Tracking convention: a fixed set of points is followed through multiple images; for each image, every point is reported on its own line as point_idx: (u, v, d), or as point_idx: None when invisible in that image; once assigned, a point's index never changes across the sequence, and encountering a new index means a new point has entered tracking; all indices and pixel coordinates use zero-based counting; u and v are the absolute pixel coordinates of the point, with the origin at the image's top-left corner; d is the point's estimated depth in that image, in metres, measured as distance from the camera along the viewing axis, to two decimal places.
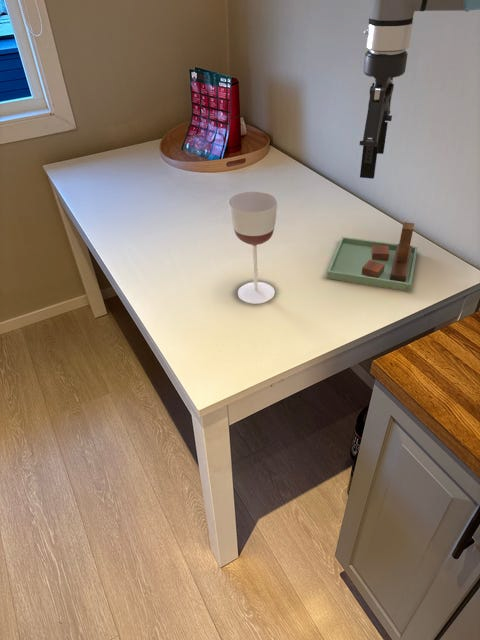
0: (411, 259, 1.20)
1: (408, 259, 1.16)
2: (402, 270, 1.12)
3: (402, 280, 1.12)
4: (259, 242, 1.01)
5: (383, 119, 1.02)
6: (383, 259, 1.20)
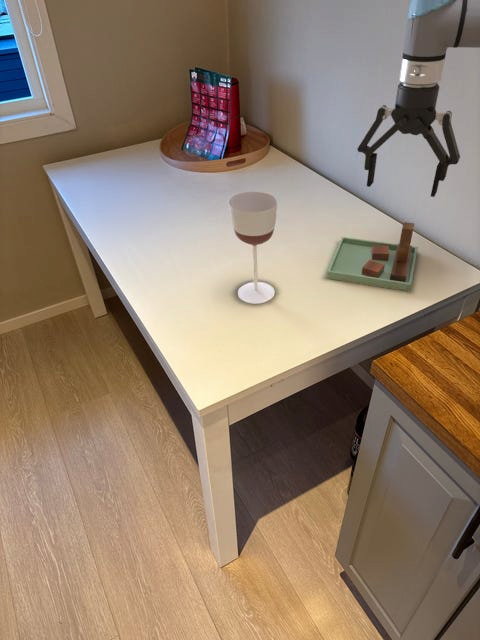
0: (411, 259, 1.20)
1: (408, 259, 1.16)
2: (402, 270, 1.12)
3: (402, 280, 1.12)
4: (259, 242, 1.01)
5: None
6: (383, 259, 1.20)
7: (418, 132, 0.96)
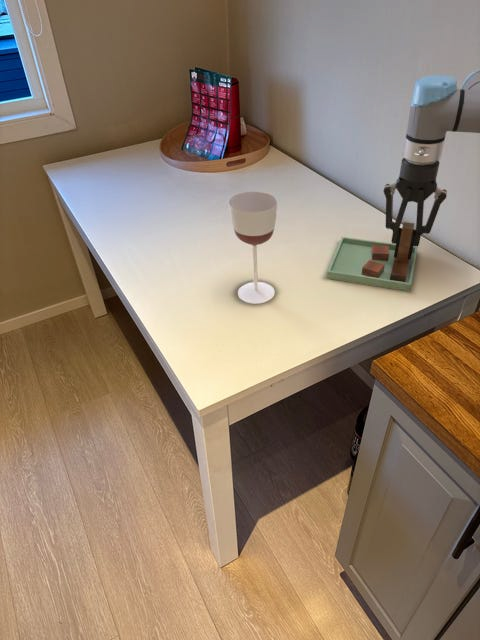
0: (411, 259, 1.20)
1: None
2: (402, 270, 1.12)
3: (402, 280, 1.12)
4: (259, 242, 1.01)
5: None
6: (383, 259, 1.20)
7: None
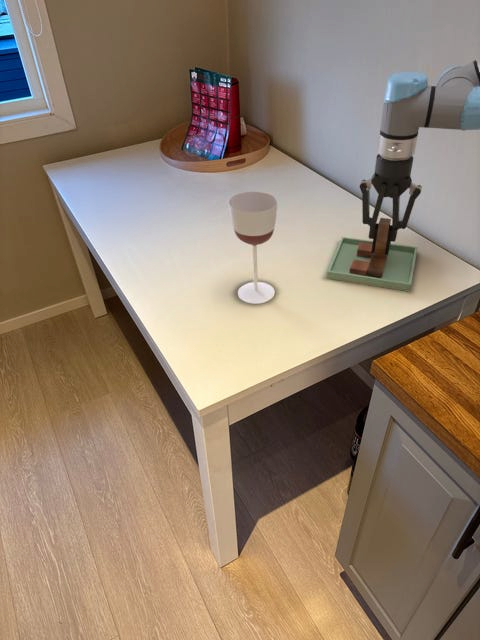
0: (411, 259, 1.20)
1: None
2: (379, 265, 1.14)
3: (379, 275, 1.13)
4: (259, 242, 1.01)
5: None
6: (368, 256, 1.22)
7: None
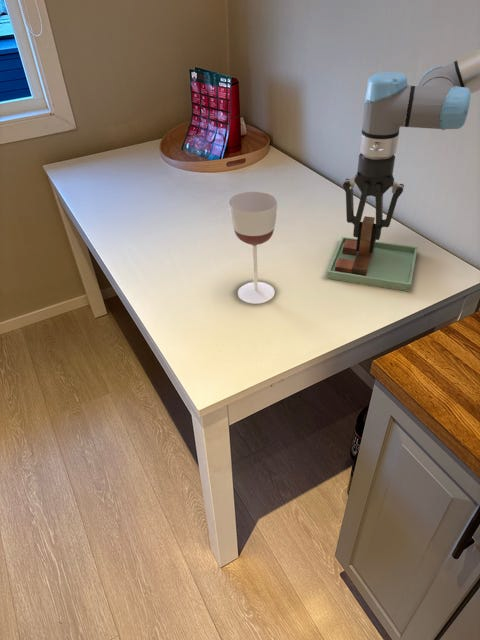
0: (411, 259, 1.20)
1: (370, 253, 1.18)
2: (363, 263, 1.15)
3: (363, 273, 1.14)
4: (259, 242, 1.01)
5: (360, 220, 1.14)
6: (353, 254, 1.23)
7: None
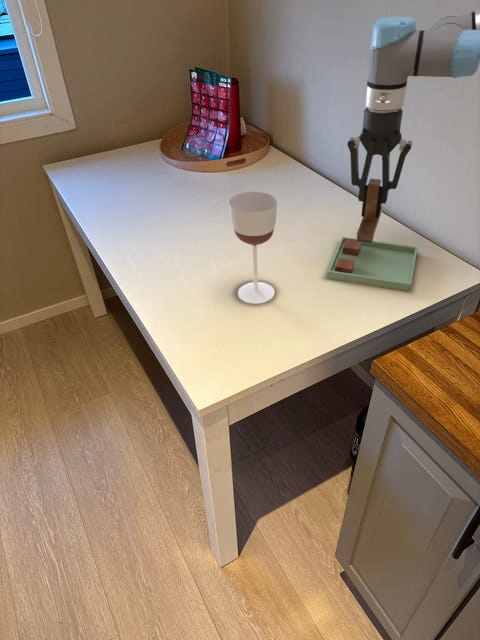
0: (411, 259, 1.20)
1: (376, 218, 1.12)
2: (369, 229, 1.09)
3: (369, 238, 1.08)
4: (259, 242, 1.01)
5: None
6: (353, 254, 1.23)
7: None
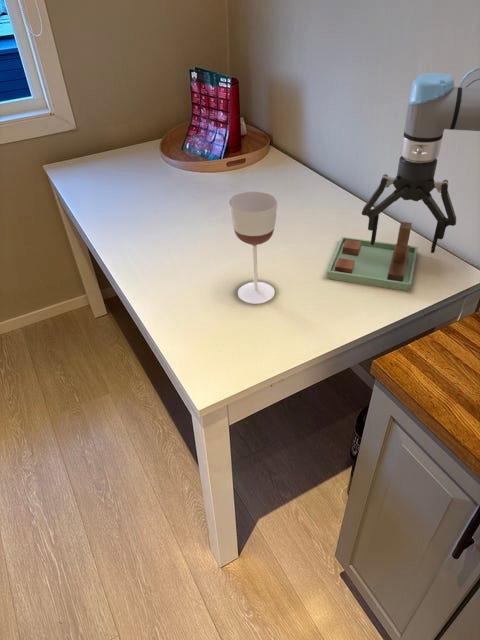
0: (411, 259, 1.20)
1: (406, 259, 1.16)
2: (399, 270, 1.13)
3: (399, 280, 1.12)
4: (259, 242, 1.01)
5: None
6: (353, 254, 1.23)
7: (419, 199, 1.05)
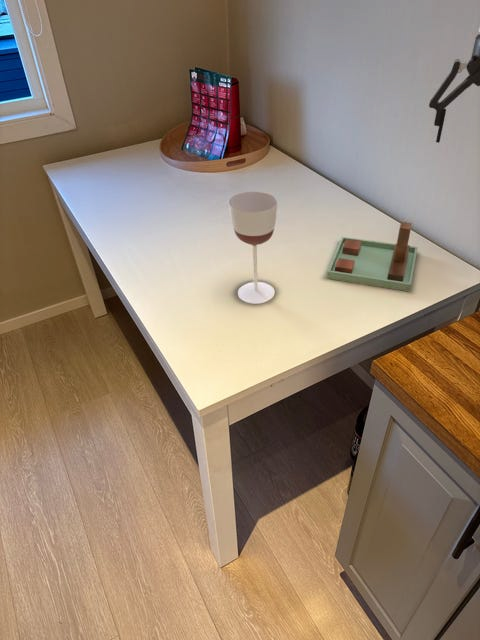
0: (411, 259, 1.20)
1: (406, 259, 1.16)
2: (399, 270, 1.13)
3: (399, 280, 1.12)
4: (259, 242, 1.01)
5: None
6: (353, 254, 1.23)
7: None
